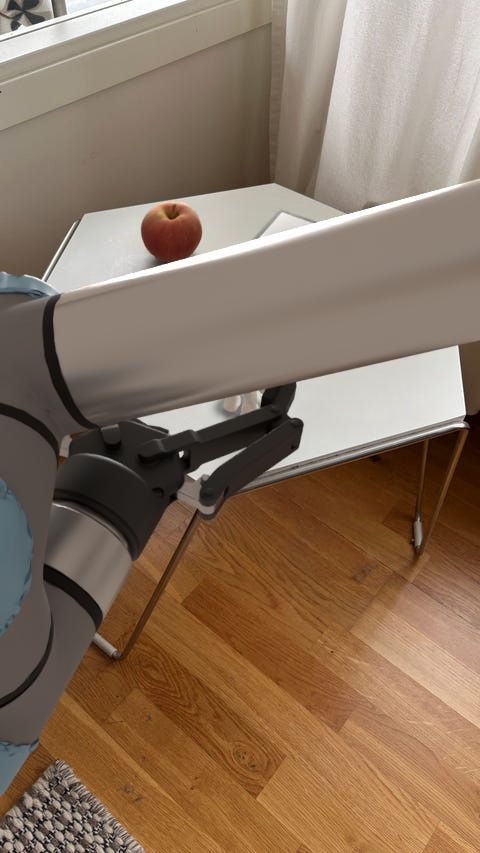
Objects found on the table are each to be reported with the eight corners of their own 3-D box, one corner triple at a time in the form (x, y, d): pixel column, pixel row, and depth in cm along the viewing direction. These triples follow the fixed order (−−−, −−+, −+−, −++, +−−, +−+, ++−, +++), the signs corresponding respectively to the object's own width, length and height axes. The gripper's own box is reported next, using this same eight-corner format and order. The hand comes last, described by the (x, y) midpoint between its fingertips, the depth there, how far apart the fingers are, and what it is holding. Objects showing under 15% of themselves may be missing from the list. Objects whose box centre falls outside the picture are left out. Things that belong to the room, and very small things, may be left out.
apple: (214, 258, 96) (216, 207, 90) (167, 280, 93) (166, 229, 87) (178, 230, 100) (177, 179, 94) (131, 250, 96) (128, 198, 90)
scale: (367, 255, 99) (372, 236, 97) (331, 307, 92) (335, 288, 89) (277, 223, 103) (280, 204, 100) (236, 271, 95) (237, 252, 93)
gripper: (-68, 500, 50) (83, 318, 63) (262, 633, 45) (351, 408, 58) (-99, 433, 44) (74, 248, 57) (274, 578, 40) (370, 341, 53)
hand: (214, 328), depth 58 cm, fingers open, 13 cm apart
